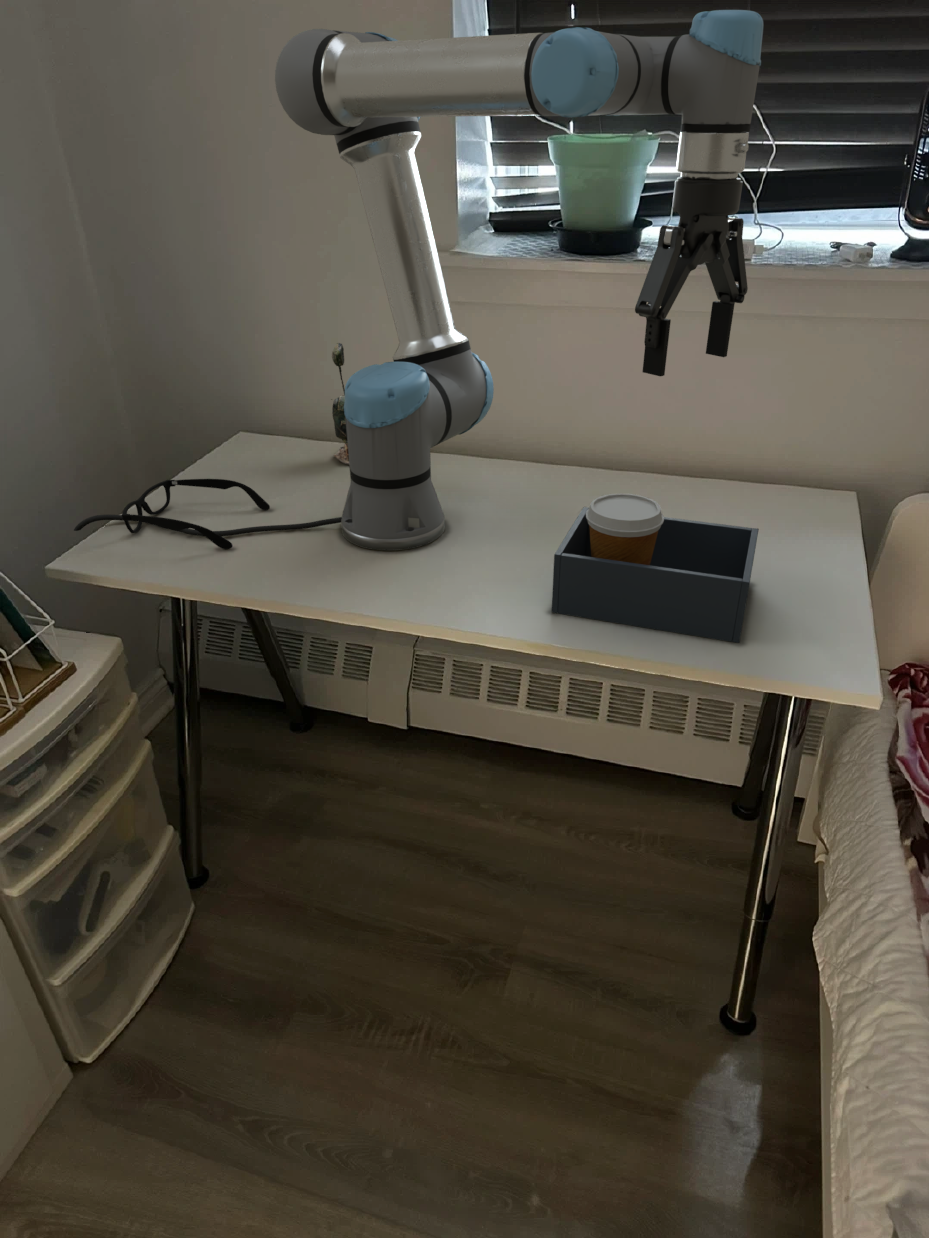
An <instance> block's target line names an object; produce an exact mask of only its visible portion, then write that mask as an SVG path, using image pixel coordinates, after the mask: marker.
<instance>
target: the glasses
mask: <svg viewBox="0 0 929 1238" xmlns="http://www.w3.org/2000/svg"><path fill="white" fill-rule="evenodd" d="M176 486H183V487H184V486H185V487H198V488H210V489H219V490H228V489H230V488H236V487H237V488H240V489H242V490H243V491H244V492H245V493H246V494H247V495H248V496H249V497H250V498H251V500H252V501H253V502H254V503H255V505H256V506H257V507H258V508H259V509H261V511H268V510H270V508H271V505H270V504H269V503H268V502H267V501H266V500H265V499H264V498H263V497H262V496H261V495H259V494H258V493H257V491H255V490H254V489H253V488H251V487H250V486H248V485H247V484H244V483H242V482H240V481H236V480H231V479H222V478H190V479H189V478H187V479H166V480H163V481H159V482H158V483H156V484H153V485H152V486H151V487H148V489H146V490H145V491H143V493H142V494H141V495H140V496H139V498H137V499H136V500H133V501H131V502H129V503H127V504H126V506H125V507H124V509H123V510H122V513H121V515H122V518H123V520H124V521H123V522H124V525H125V527H126V529H127V530H128V532H129V533H131V534H136V533H138V532H139V531H140V529H141V528H142V526H143V523H144V524H147V525H151V526H155V525H156V527H158V526H160V527H159V528H161V527H164V528H168V529H172V530H171V531H173V530H176V531H175V532H177V531H180V530H183V529H186V528H189V529H194V530H197V531H198V532H200V533H201V534H203V535H204V536H203V537H205V538H207V539H208V540H209V541H210V542H211V543H213V545H216V546H217V547H218V548H220V549H222V550H231V549H232V548H233V543H232V542H231V541H229V540H228V539H227V538H225V537H224V536H220V535H218V534H216V533H215V532H213V531H214V530H212V529H209V528H207V527H205V526H202V525H198V524H196V523H191V522H188V521H184V520H178V519H174V518H168V517H162V516H155V515H159V514H161V513H163V512H164V511H165V510H166V509H167V508H168V506H169V505H170V503H171V487H173V488H174V487H176ZM159 487H163V488H164V491H165V497H166V501H165V503H164V505H163V506H162V507H161V508H159V509H158V510H155V511H153V510H152V509H151V507H150V506H149V504H148V502H146V498H147V495H149V493H151V492H152V491H153V490H155V489H157V488H159ZM134 505H135V507H136V513H137V514H132V513H128V512H129V509H130V508H131V507H132V506H134ZM143 511H144V512H145V513H146V514H148V515H144V514H143ZM128 520H136V521H135V522H137V525H136V527H135V528H134V529H133V528H132V526H131V524H130V521H128ZM164 528H163V529H164ZM168 529H167V530H168Z"/></svg>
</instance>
